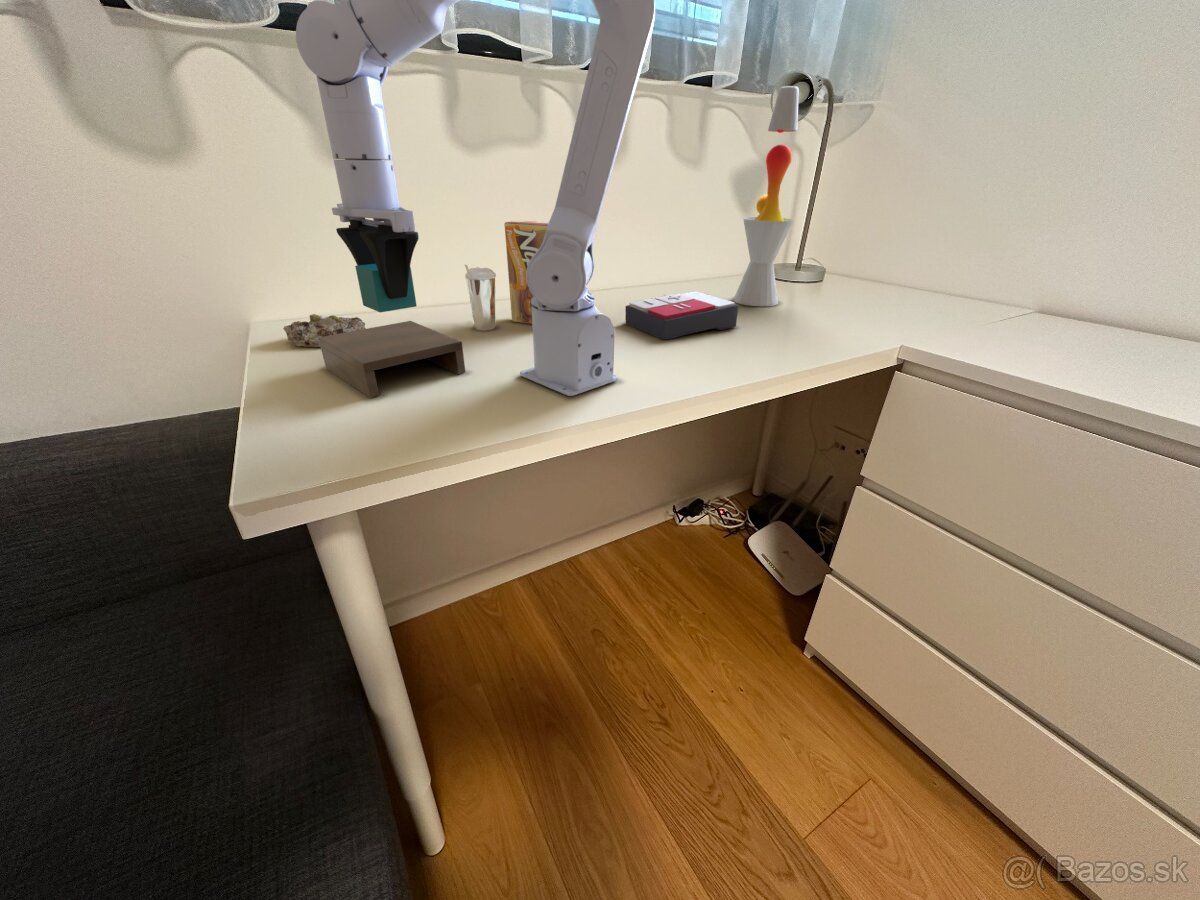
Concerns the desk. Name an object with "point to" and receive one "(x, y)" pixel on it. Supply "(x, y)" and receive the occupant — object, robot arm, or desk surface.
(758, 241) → the lava lamp
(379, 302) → the cube
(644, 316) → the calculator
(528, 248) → the candy box
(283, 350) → the desk surface
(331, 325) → the mineral rock
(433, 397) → the desk surface
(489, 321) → the milkshake
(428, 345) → the shelf
